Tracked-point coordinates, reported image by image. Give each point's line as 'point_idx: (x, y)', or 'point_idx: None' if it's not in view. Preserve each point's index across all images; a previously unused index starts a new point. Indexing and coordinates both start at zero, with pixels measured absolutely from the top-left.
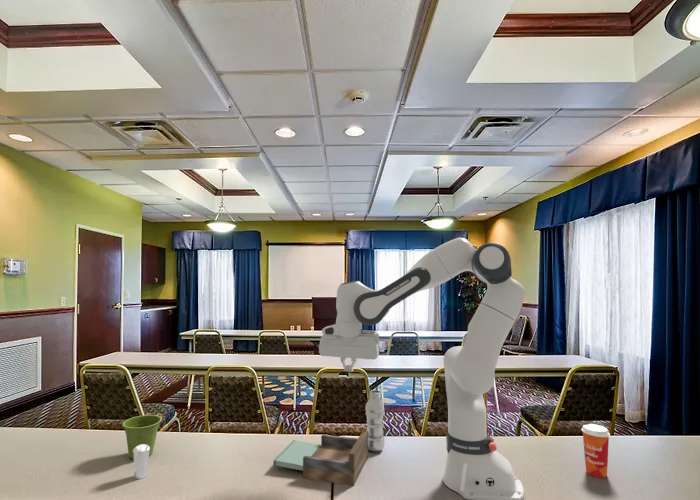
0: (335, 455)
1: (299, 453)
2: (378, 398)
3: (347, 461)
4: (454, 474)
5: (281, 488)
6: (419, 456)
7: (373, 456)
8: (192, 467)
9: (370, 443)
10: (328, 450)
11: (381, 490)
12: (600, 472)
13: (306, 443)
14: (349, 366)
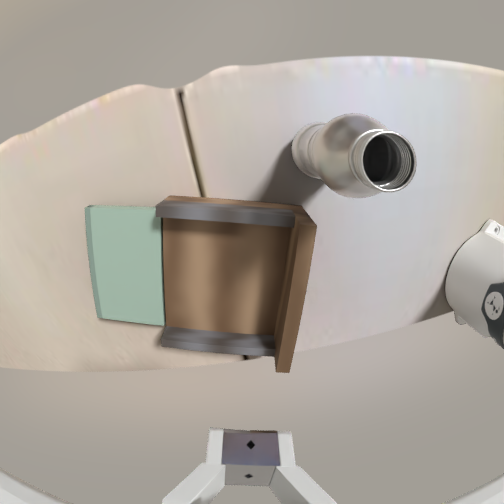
0: (221, 266)
1: (130, 276)
2: (394, 174)
3: (259, 292)
4: (465, 314)
5: (152, 355)
6: (424, 176)
7: (316, 191)
8: (2, 306)
9: (311, 176)
10: (194, 242)
11: (336, 333)
12: None
13: (122, 216)
14: (261, 484)
